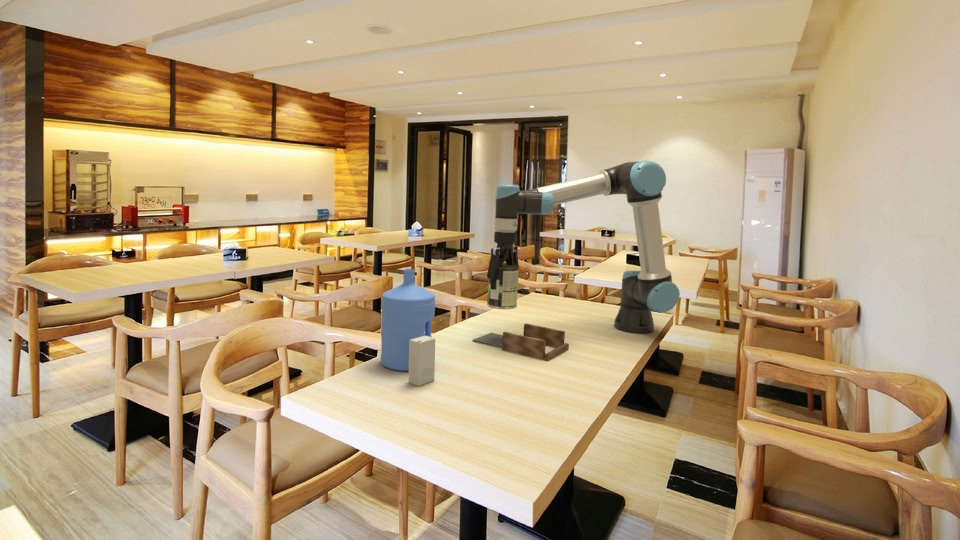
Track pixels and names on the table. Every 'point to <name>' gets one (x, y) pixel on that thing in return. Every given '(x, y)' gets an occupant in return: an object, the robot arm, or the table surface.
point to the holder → (535, 342)
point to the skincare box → (421, 360)
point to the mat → (490, 340)
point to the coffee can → (505, 288)
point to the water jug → (404, 320)
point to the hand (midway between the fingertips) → (502, 296)
